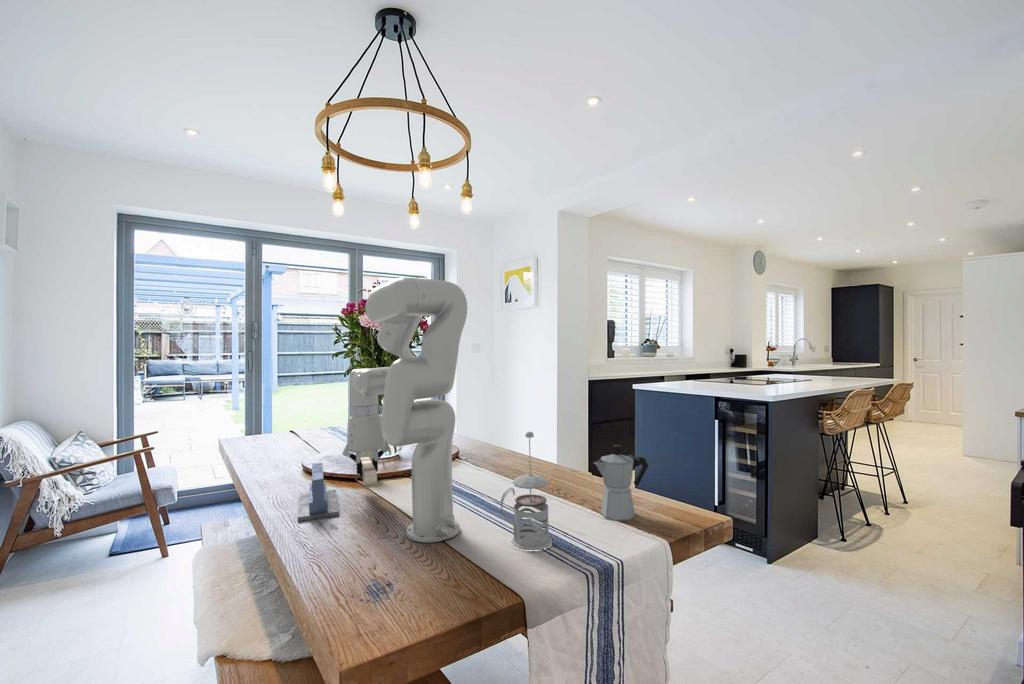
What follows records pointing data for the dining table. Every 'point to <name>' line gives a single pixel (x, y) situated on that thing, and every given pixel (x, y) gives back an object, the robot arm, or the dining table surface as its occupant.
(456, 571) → the dining table surface
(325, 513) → the fulcrum
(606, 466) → the coffee maker
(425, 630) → the dining table surface
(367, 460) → the beam
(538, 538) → the french press
